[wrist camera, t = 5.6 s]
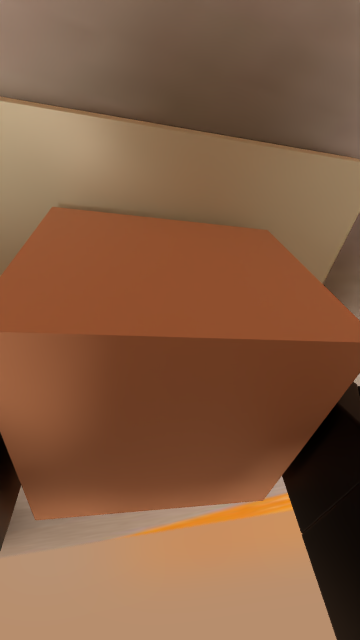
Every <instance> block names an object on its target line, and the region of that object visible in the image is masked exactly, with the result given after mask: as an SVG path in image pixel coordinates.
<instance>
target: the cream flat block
mask: <svg viewBox="0 0 360 640" xmlns="http://www.w3.org/2000/svg"><path fill="white" fill-rule="evenodd" d="M52 207H60V208H69V209H78V210H87V211H97V212H106V213H115V214H124V215H133V216H143V217H152V218H161V219H170V220H180V221H189V222H198V223H207V224H217V225H226V226H235V227H244V228H254V229H263V230H268V231H269V232H270V233H271V234H272V235H273V236H274V237H275V238H276V239H277V240H278V241H279V242H280V243H281V244H282V245H283V246H284V247H285V248H286V249H287V250H288V251H289V252H290V253H291V254H292V255H293V256H294V257H295V258H296V259H298V260H299V261H300V262H301V263H302V264H303V265H304V266H305V267H306V268H307V269H308V270H309V271H310V272H311V273H312V274H313V275H314V276H315V277H316V278H317V279H318V280H319V281H320V282H321V283H322V284H323V283H324V281H325V279H326V277H327V275H328V273H329V271H330V269H331V267H332V265H333V263H334V261H335V259H336V257H337V255H338V253H339V251H340V249H341V247H342V246H343V244H344V242H345V240H346V238H347V236H348V234H349V232H350V230H351V228H352V226H353V224H354V222H355V220H356V218H357V216H358V214H359V212H360V160H359V159H356V158H352V157H346V156H341V155H335V154H329V153H323V152H317V151H312V150H306V149H300V148H294V147H289V146H283V145H277V144H271V143H266V142H260V141H254V140H248V139H242V138H237V137H231V136H225V135H219V134H214V133H208V132H202V131H196V130H190V129H185V128H179V127H173V126H167V125H162V124H156V123H150V122H144V121H139V120H133V119H127V118H121V117H115V116H110V115H104V114H98V113H92V112H87V111H81V110H75V109H69V108H64V107H58V106H52V105H46V104H40V103H35V102H29V101H23V100H17V99H12V98H6V97H0V276H1V275H2V274H3V272H4V271H5V269H6V268H7V267H8V265H9V264H10V263H11V261H12V260H13V259H14V257H15V256H16V255H17V253H18V252H19V251H20V249H21V248H22V247H23V245H24V244H25V243H26V241H27V240H28V239H29V237H30V236H31V235H32V233H33V232H34V230H35V229H36V228H37V226H38V225H39V224H40V222H41V221H42V220H43V218H44V217H45V216H46V214H47V213H48V212H49V210H50V209H51V208H52Z"/></svg>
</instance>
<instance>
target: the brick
mask: <svg viewBox="0 0 360 640" xmlns="http://www.w3.org/2000/svg"><path fill="white" fill-rule="evenodd" d="M359 373H360V321H359V320H358V319H357V318H356V317H355V316H354V315H353V314H352V313H351V312H350V311H349V310H348V309H347V308H346V307H345V306H344V305H343V304H342V303H341V302H340V301H339V300H338V299H337V298H336V297H335V296H334V295H333V294H332V293H331V292H330V291H329V290H328V289H327V288H326V287H325V286H324V285H323V284H322V283H321V282H320V281H319V280H318V279H317V278H316V277H315V276H314V275H313V274H312V273H311V272H310V271H309V270H308V269H307V268H306V267H305V266H304V265H303V264H302V263H301V262H300V261H299V260H298V259H296V258H295V257H294V256H293V255H292V254H291V253H290V252H289V251H288V250H287V249H286V248H285V247H284V246H283V245H282V244H281V243H280V242H279V241H278V240H277V239H276V238H275V237H274V236H273V235H272V234H271V233H270V232H269V231H268V230H263V229H254V228H244V227H235V226H226V225H217V224H207V223H198V222H189V221H180V220H170V219H161V218H152V217H143V216H133V215H124V214H115V213H106V212H97V211H87V210H78V209H69V208H60V207H52V208H51V209H50V210H49V212H48V213H47V214H46V216H45V217H44V218H43V220H42V221H41V222H40V224H39V225H38V226H37V228H36V229H35V230H34V232H33V233H32V235H31V236H30V237H29V239H28V240H27V241H26V243H25V244H24V245H23V247H22V248H21V249H20V251H19V252H18V253H17V255H16V256H15V257H14V259H13V260H12V261H11V263H10V264H9V265H8V267H7V268H6V269H5V271H4V272H3V274H2V275H1V276H0V433H1V435H2V438H3V440H4V443H5V445H6V448H7V450H8V453H9V455H10V458H11V460H12V463H13V465H14V468H15V470H16V473H17V475H18V478H19V480H20V483H21V485H22V488H23V490H24V493H25V495H26V498H27V500H28V503H29V505H30V508H31V510H32V513H33V515H34V518H35V520H44V519H55V518H67V517H78V516H90V515H101V514H113V513H124V512H136V511H147V510H159V509H170V508H182V507H193V506H205V505H216V504H228V503H239V502H251V501H262V500H264V498H265V497H266V496H267V494H268V493H269V492H270V490H271V489H272V488H273V487H274V485H275V484H276V483H277V481H278V480H279V479H280V477H281V476H282V475H283V473H284V472H285V471H286V469H287V468H288V467H289V465H290V464H291V463H292V461H293V460H294V459H295V458H296V456H297V455H298V454H299V452H300V451H301V450H302V448H303V447H304V446H305V444H306V443H307V442H308V440H309V439H310V438H311V436H312V435H313V434H314V432H315V431H316V430H317V429H318V427H319V426H320V425H321V423H322V422H323V421H324V419H325V418H326V417H327V415H328V414H329V413H330V411H331V410H332V409H333V407H334V406H335V405H336V403H337V402H338V401H339V399H340V398H341V397H342V396H343V394H344V393H345V392H346V390H347V389H348V388H349V386H350V385H351V384H352V382H353V381H354V380H355V378H356V377H357V376H358V374H359Z"/></svg>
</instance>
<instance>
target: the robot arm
mask: <svg viewBox="0 0 360 640" xmlns="http://www.w3.org/2000/svg"><path fill="white" fill-rule="evenodd" d="M282 477H283V480H284V483H285V486H286V489H287V492H288V495H289V498H290V501H291V504H292V507H293V510H294V513H295V516H296V519H297V521H298V525H299V528H300V531H301V533H303V534H302V537H303V540H304V543H305V546H306V549H307V552H308V555H309V558H310V561H311V564H312V567H313V570H314V573H315V576H316V579H317V581H318V585H319V588H320V591H321V594H322V597H323V600H324V602H325V606H326V608H327V611H328V615H329V617H330V620H331V623H332V627H333V629H334V632H335V636H336V638H337V640H360V386H357V384H356V383H354V382H352V384H351V385H350V386H349V388H348V389H347V390H346V392H345V393H344V394H343V396H342V397H341V398H340V399H339V401H338V402H337V403H336V405H335V406H334V407H333V409H332V410H331V411H330V413H329V414H328V415H327V417H326V418H325V419H324V421H323V422H322V423H321V425H320V426H319V427H318V429H317V430H316V431H315V432H314V434H313V435H312V436H311V438H310V439H309V440H308V442H307V443H306V444H305V446H304V447H303V448H302V450H301V451H300V452H299V454H298V455H297V456H296V458H295V459H294V460H293V461H292V463H291V464H290V465H289V467H288V468H287V469H286V471H285V472H284V473H283V475H282ZM20 488H21V483H20V480H19V478H18V475H17V473H16V470H15V468H14V465H13V463H12V460H11V458H10V455H9V453H8V450H7V448H6V445H5V443H4V440H3V438H2V435H1V433H0V551H1V548H2V544H3V541H4V538H5V535H6V532H7V529H8V525H9V522H10V519H11V516H12V513H13V510H14V506H15V503H16V500H17V497H18V494H19V491H20Z"/></svg>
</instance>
